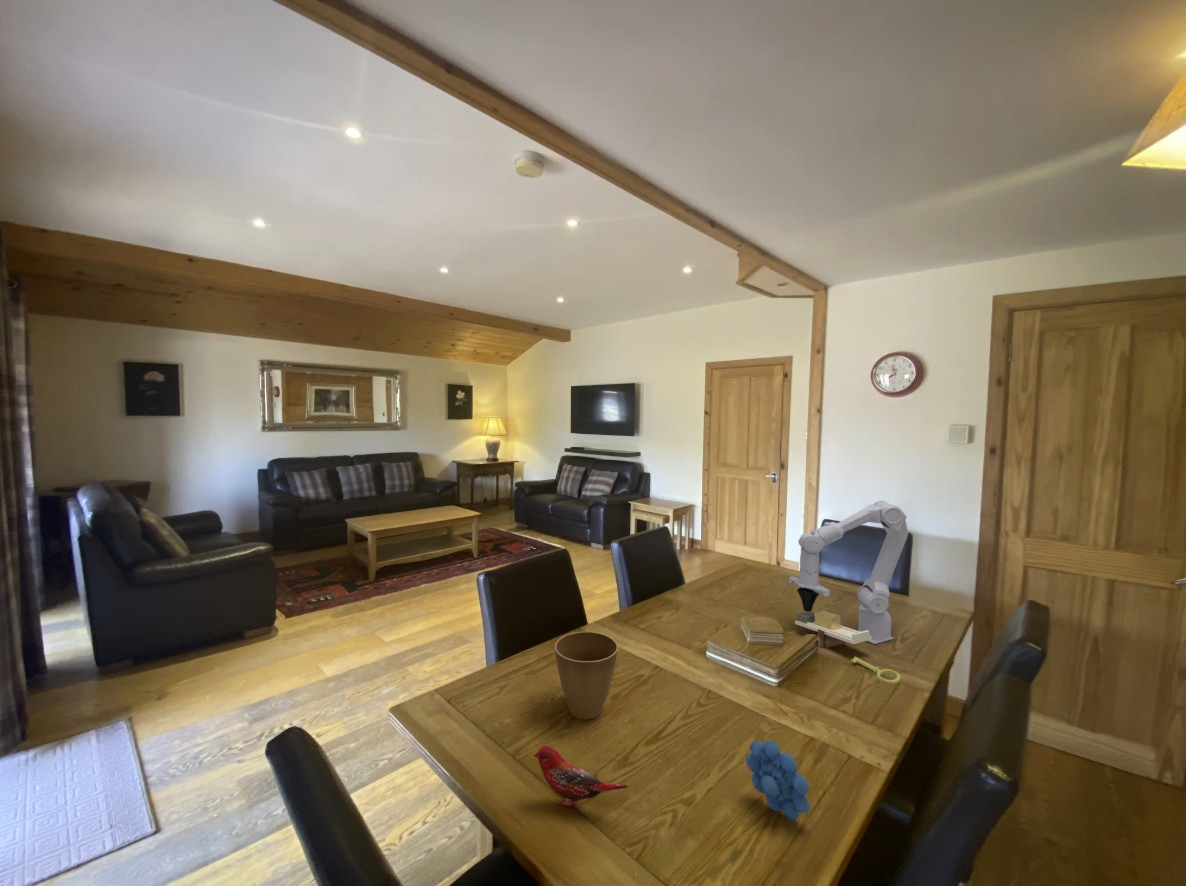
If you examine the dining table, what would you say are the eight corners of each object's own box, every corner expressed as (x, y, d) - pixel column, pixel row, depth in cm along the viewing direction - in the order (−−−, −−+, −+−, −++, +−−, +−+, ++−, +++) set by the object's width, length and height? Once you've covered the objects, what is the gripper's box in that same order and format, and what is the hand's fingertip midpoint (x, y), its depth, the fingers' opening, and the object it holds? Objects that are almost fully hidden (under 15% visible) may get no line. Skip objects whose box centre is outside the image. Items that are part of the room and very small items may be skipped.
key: (852, 662, 142) (853, 655, 142) (902, 677, 134) (902, 670, 134) (846, 671, 136) (846, 664, 136) (897, 688, 128) (897, 680, 128)
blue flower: (733, 804, 88) (735, 740, 87) (751, 785, 93) (753, 724, 92) (797, 845, 80) (800, 774, 79) (814, 822, 84) (816, 755, 84)
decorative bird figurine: (536, 791, 91) (536, 738, 90) (629, 814, 85) (630, 759, 85) (529, 802, 88) (530, 748, 87) (625, 827, 83) (626, 770, 82)
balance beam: (795, 624, 160) (794, 614, 160) (812, 620, 164) (812, 611, 164) (853, 644, 141) (852, 633, 141) (871, 639, 145) (871, 629, 145)
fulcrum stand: (815, 644, 152) (815, 628, 152) (838, 638, 156) (838, 623, 156) (823, 648, 149) (824, 632, 149) (846, 642, 154) (847, 626, 153)
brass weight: (815, 625, 155) (814, 612, 156) (824, 623, 157) (823, 610, 157) (831, 630, 150) (830, 617, 150) (840, 628, 152) (840, 615, 152)
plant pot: (545, 700, 120) (546, 637, 119) (601, 688, 125) (602, 627, 125) (566, 737, 106) (567, 665, 105) (627, 721, 112) (629, 653, 111)
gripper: (783, 565, 165) (781, 604, 166) (819, 578, 152) (817, 620, 152) (798, 563, 168) (796, 601, 168) (834, 575, 155) (833, 617, 155)
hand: (807, 610), depth 161 cm, fingers closed
